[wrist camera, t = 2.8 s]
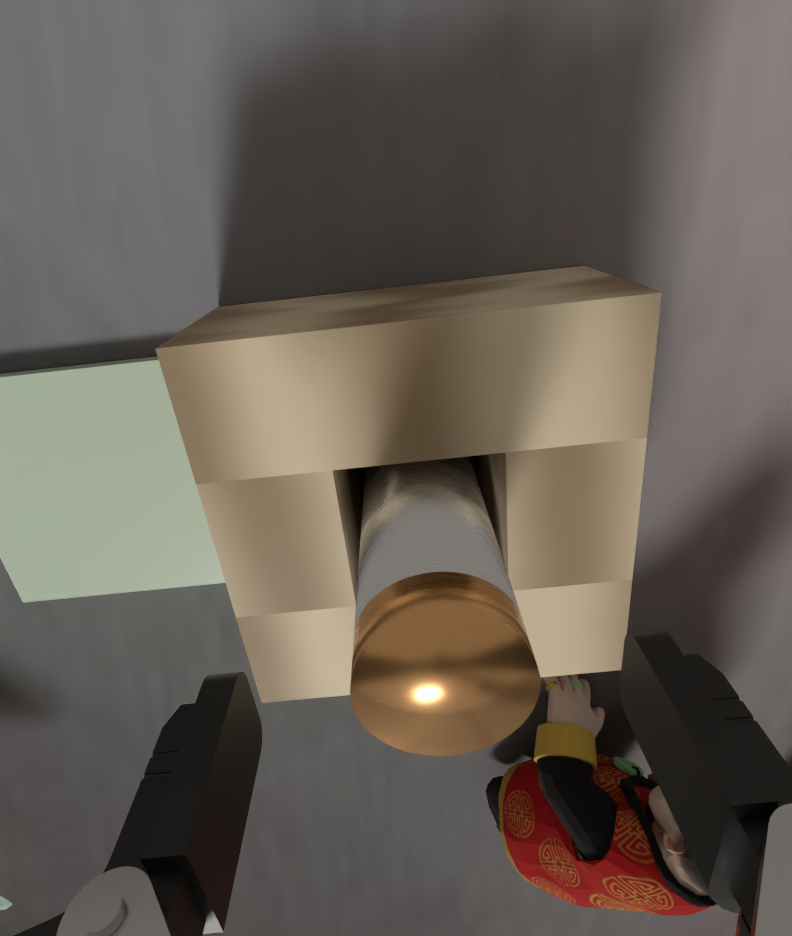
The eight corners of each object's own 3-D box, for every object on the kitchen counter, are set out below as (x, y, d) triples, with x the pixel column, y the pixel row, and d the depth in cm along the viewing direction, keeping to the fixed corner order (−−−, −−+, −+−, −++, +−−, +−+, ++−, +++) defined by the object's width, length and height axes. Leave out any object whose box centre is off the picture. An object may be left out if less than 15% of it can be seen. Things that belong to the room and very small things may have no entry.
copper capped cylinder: (462, 401, 21) (541, 609, 11) (467, 491, 23) (539, 747, 12) (360, 412, 22) (336, 629, 11) (372, 500, 23) (363, 763, 13)
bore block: (584, 265, 19) (661, 292, 14) (571, 568, 25) (623, 670, 20) (217, 306, 20) (155, 348, 14) (287, 595, 25) (261, 702, 20)
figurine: (600, 719, 35) (844, 672, 24) (617, 908, 30) (944, 968, 18) (470, 686, 33) (672, 616, 21) (462, 888, 27) (729, 942, 16)
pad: (187, 353, 20) (182, 357, 20) (248, 572, 25) (245, 580, 24) (-75, 381, 21) (-88, 387, 20) (30, 593, 25) (23, 602, 25)
